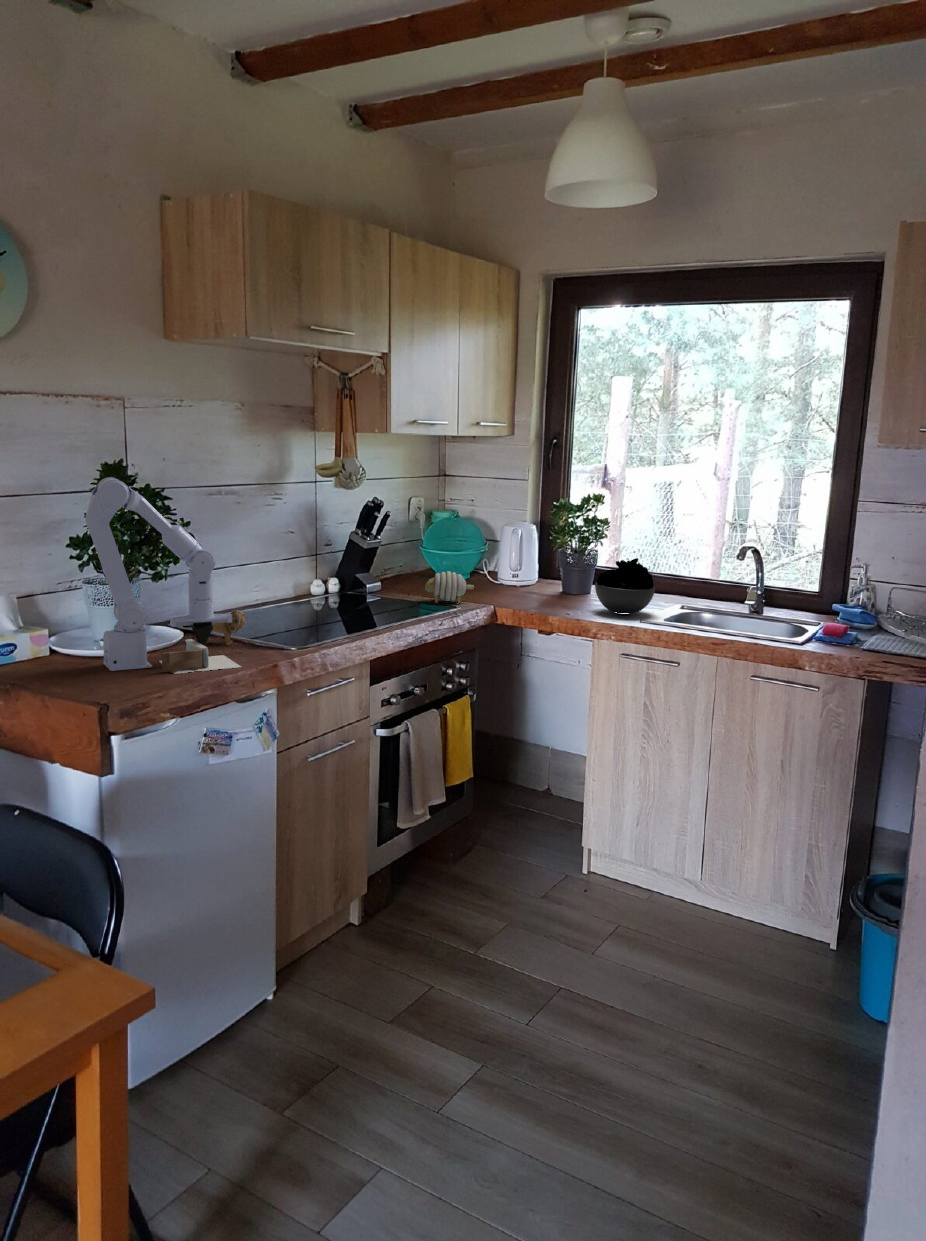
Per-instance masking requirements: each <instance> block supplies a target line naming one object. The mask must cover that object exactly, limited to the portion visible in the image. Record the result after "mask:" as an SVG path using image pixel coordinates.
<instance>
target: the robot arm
mask: <svg viewBox="0 0 926 1241" xmlns="http://www.w3.org/2000/svg"><path fill="white" fill-rule="evenodd" d="M90 495H91V496H90V499H89V504H88V507H87V510H86V513H85V518H84V520H85V524H86V525H87V529H88V531H89V534H90V537H91V539H92V543H93V546H94V549H95V551H96V554H97V556H98V559H99V562H100V564H101V567H102V570H103V574H104V576H105V579H106V582H107V584H108V588H109V589H110V592H111V593H110V594H111V597H112V600H113V603H114V606H113V615H114V617H115V619H116V620H117V622H116V623H115V625H114V626H113V629H111V630H106V631H104V632H103V637H102V639H103V642H102V644H103V646H102V647H103V665H104V666H105V667H106V668H107V669H108V670H109V671H110V672H117V671H126V670H136V669H137V670H138V669H147V668H148V669H149V668H152V667H153V664H151V663H150V662H149V661H148V654H147V653H148V649H147V644H148V643H147V626H146V625H145V623H146V622H147V613H146V611H145V609H144V608H143V607H142V606H141V604H140V602H139V601H138V600H137V598H136V595H135V594H134V590H133V588H132V585H131V583H130V579H129V577H128V574H127V572H126V567H125V566H124V563H123V561H122V558H121V554H120V552H119V549H118V546H117V543H116V540H115V538H114V535H113V531H112V528H111V526H110V522H111V521H112V519H113V518H114V515H115V514H116V513H117V512H118V511H119V510H120V509H121V508H124V509H126V510H129V511H132V512H136V513H137V514H139V515H140V516H141V517H142V518H143V519H144V520H145V521H147V523H148V524H150V525H151V526H152V527H153V528H154V529H156V530H157V531H158V532H159V533H160V534H161V541H162V544H163V545H165V547H167V548H168V550H170V551H171V552H172V553H173V554H174V555H176V556H177V557H178V558H179V559H180V560H181V561H183V562H184V563H185V565H186V567H187V568H189V569H188V586H187V587H188V612H189V613H188V614H187V615H182V616H175V617H170V618H169V620H170V622H169V623H170V624H169V625H170V626H171V627H172V628H175V627H180V626H190V628H191V629H192V631H193V633H194V636H196V638H195V639H196V642H198V643H200V644H202V645H204V646H206V647H207V644H208V643H207V641H209V637H210V635H211V633H212V632H213V631H212V630H213V625H212V623H223V622H228V623H231V622H232V615H231V614H230V613H231V612H229V613H214V579H213V571H214V569H215V566H216V561H215V560H214V556H213V555H212V553H210V552H209V551H207V550H206V548H205V547H204V544H203V543H202V542H200V541H199V542H198V541H197V540H196V539H195V538H194V537H193V536H192V535H191V534H190V533H189V532H190V530H189V529H188V528H187V527H186V526H184V527H182V526H181V525H180V524H171V523H170V522H169V521H168V520H167V519H166V518H165V517H164V516H162V514H161V513H160V512H159V511H158V510H157V509H156V508H155V507H154V506H153V505H152V504H151V503H150V502H149V501H148V500H147V499H146V498H145V497H144V496H142V495H141V494H140V493H138V492H137V491H135V490H134V489H132V488H131V487H130V486H128V485H127V484H126V483H125V482H123V481H121V480H120V479H118V478H116V477H113V476H109V477H104V478H103V479H101V480H100V481H99V482H98V483H97V485H95V487H94V488H93V489H92V491H91V494H90Z"/></svg>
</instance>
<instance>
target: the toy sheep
mask: <svg viewBox="0 0 926 1241" xmlns="http://www.w3.org/2000/svg"><path fill="white" fill-rule="evenodd" d="M474 588H475V586H474V584H467V581H466V580H465V578H464V577H463V575H462V574H460V573H458V574H457V573H456V572H455V571H453V572H451V571H449V570H447V571H446V572H445V571H442V572H441V573H439V572H436V573H435V575H434V577H432V578H429V579H428V580H427V582H426V583H425V585H424V590H425V591H426V592H427V593H433V600H434V599H435V601H434V603H435V602H438V601H439V602H440V601H445V602H446V601H449V602H454V601H455V602H456V599H457V602H460V603H461V597H462V596H464V594H465V593H466V591H467V590H474ZM457 602H456V603H457Z"/></svg>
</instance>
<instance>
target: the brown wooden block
mask: <svg viewBox="0 0 926 1241" xmlns="http://www.w3.org/2000/svg"><path fill="white" fill-rule="evenodd" d="M161 661H162V664H161V671H162V672H163V673H169V672H170V673H171V674H174V673H176V669H186V668H190V669H191V670H192V671H196V670H198V668H196V667H202V651H201V650H188V651H186V650H179V651H166V652H165V651H164V652H163V651H162V652H161Z"/></svg>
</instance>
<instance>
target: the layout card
mask: <svg viewBox="0 0 926 1241" xmlns="http://www.w3.org/2000/svg"><path fill="white" fill-rule="evenodd" d="M159 663H160V664H161V665H162V660H159ZM208 665H209V666H207V667H203V666H202V667H196V668H198V670H196V671H202V672H211V671H210V670H212V671H219V670H218V669H223V670H231V669H232V668H233V669H241V668H242V667H243V666H241V665H239V664H238V663H237V662H235V661H233V659H230V658H229V657H228V656H226V655H224V654H222V655H211V656H209V655H208ZM233 669H232V670H233ZM188 672H192V673H195V672H194V671H192V670H191V669H190V668H186V669H176V673H173V675H178V674H181V673H182V674H189V673H188Z"/></svg>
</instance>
